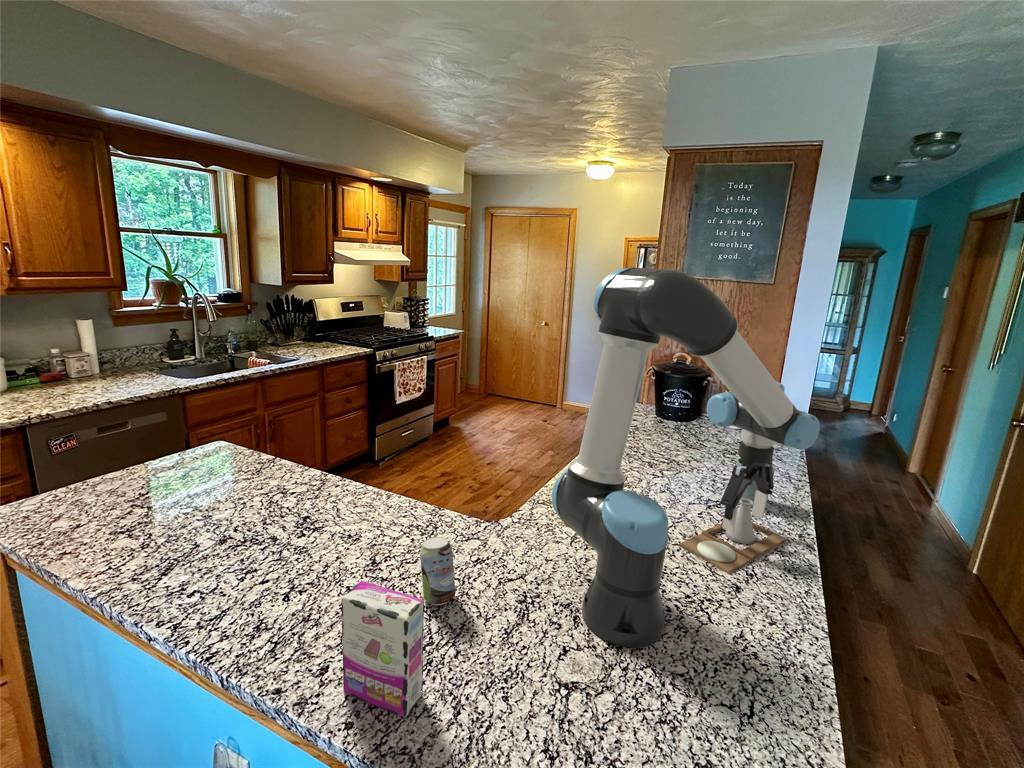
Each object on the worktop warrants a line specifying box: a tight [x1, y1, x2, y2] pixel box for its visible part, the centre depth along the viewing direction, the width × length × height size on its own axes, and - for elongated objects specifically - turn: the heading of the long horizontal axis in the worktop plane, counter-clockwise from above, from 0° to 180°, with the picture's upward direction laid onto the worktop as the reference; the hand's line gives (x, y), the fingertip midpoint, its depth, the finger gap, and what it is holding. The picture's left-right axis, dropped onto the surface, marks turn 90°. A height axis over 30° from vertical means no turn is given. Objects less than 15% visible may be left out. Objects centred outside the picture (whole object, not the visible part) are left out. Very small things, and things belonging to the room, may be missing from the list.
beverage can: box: [419, 536, 456, 606], centre depth 95 cm, size 6×7×12 cm
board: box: [678, 521, 788, 574], centre depth 123 cm, size 26×13×1 cm, turn 126°
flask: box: [724, 498, 756, 545], centre depth 125 cm, size 7×7×10 cm
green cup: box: [736, 457, 776, 509], centre depth 145 cm, size 10×10×12 cm
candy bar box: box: [340, 580, 425, 719], centre depth 73 cm, size 11×5×16 cm, turn 69°
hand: (743, 523), depth 125 cm, fingers open, 13 cm apart
